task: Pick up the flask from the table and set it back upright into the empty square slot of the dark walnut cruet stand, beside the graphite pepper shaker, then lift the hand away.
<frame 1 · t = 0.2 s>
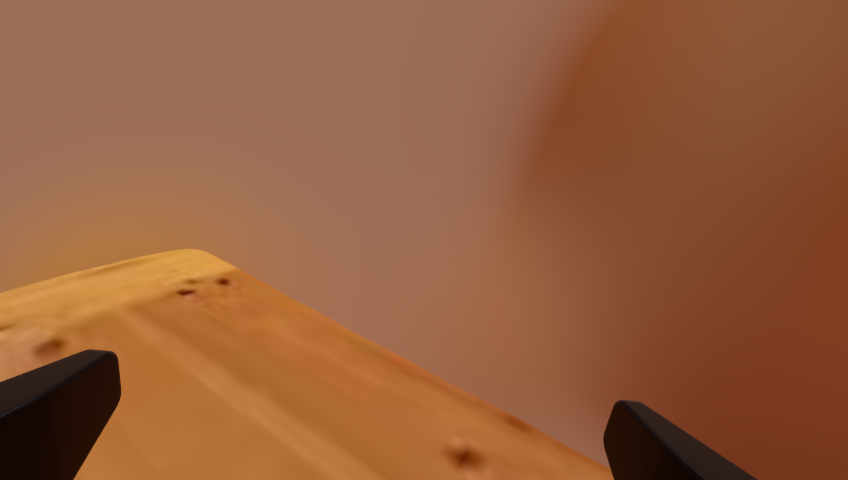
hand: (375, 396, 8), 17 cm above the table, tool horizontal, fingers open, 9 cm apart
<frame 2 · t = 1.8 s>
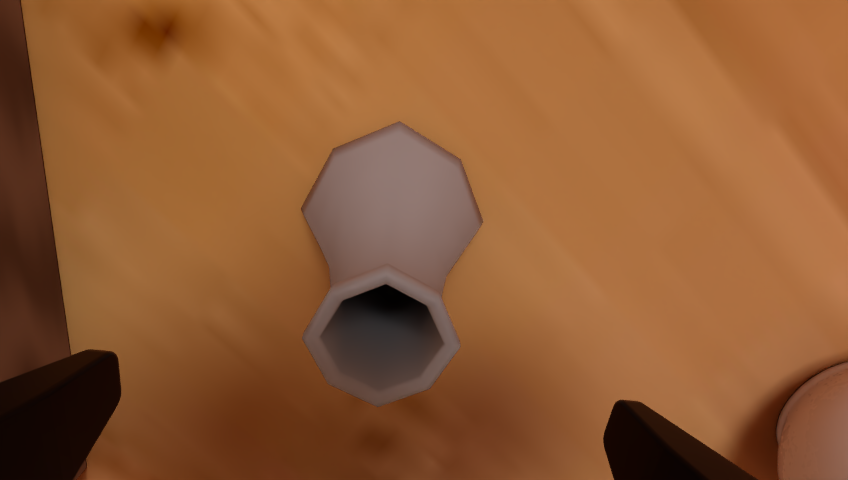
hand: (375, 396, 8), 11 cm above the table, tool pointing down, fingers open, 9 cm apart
lidded bowl: (839, 413, 24), on the table
flask: (393, 212, 19), on the table
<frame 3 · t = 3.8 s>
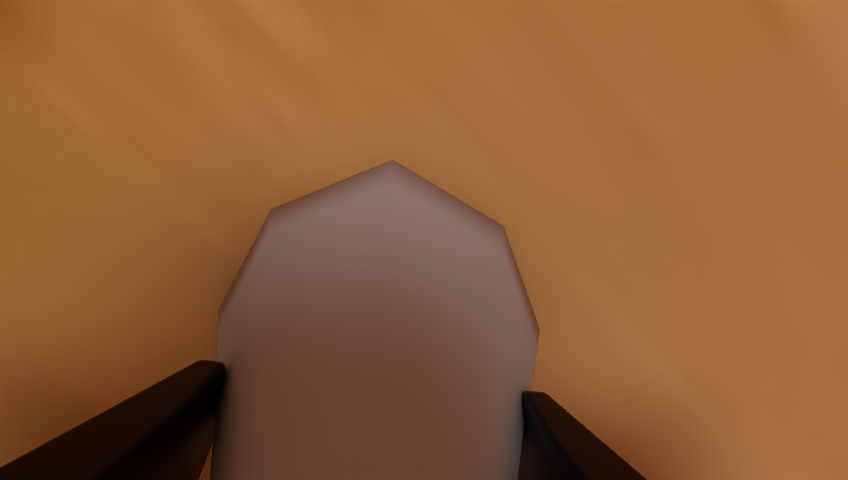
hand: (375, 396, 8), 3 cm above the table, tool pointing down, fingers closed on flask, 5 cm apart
flask: (383, 310, 11), on the table, touching gripper
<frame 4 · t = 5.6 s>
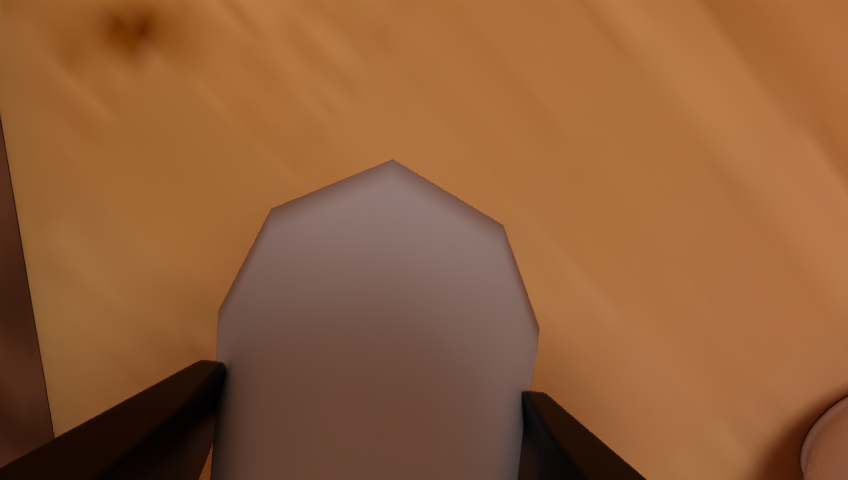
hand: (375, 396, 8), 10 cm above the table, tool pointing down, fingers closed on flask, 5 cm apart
flask: (383, 309, 11), point 7 cm above the table, touching gripper
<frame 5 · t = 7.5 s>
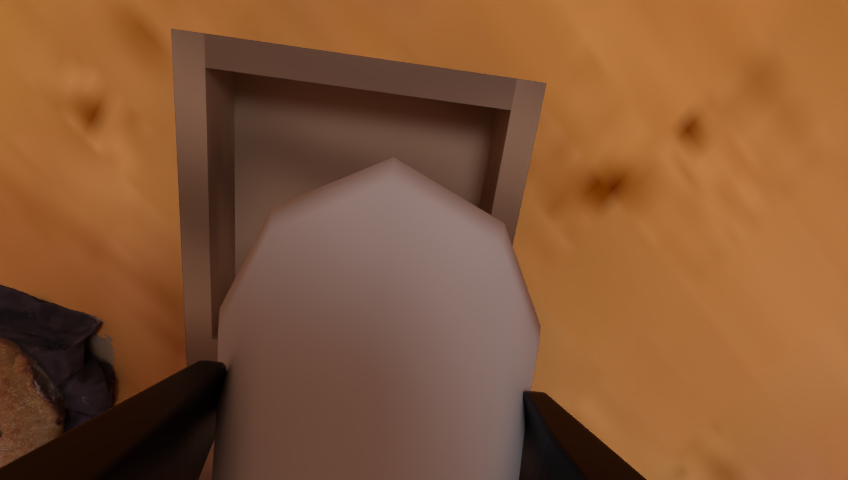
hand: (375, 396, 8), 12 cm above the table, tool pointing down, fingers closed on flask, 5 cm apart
flask: (384, 307, 11), point 9 cm above the table, touching gripper
cruet stand: (348, 336, 21), on the table
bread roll: (39, 379, 23), on the table
when the fingers open (5 cm above the table, at t = 10.5 s): flask stays where it is, resting on cruet stand.
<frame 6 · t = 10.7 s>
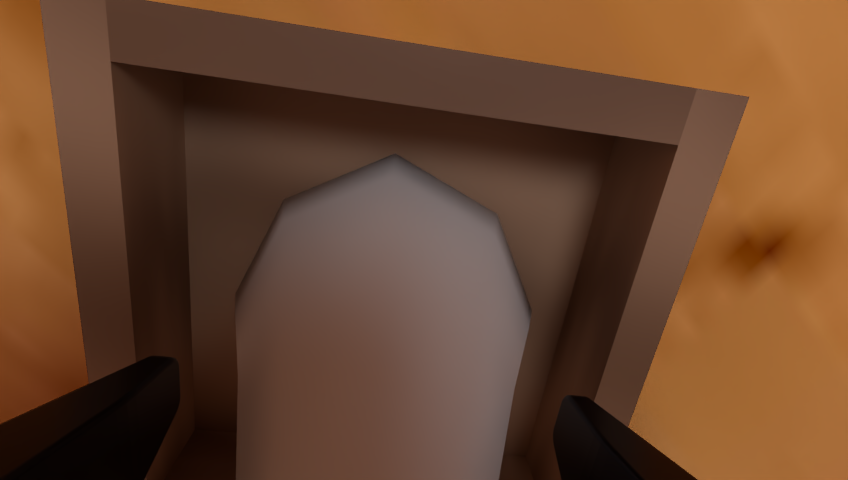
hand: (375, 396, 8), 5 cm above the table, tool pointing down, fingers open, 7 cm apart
flask: (387, 293, 12), point 1 cm above the table, touching cruet stand
cruet stand: (363, 455, 15), on the table
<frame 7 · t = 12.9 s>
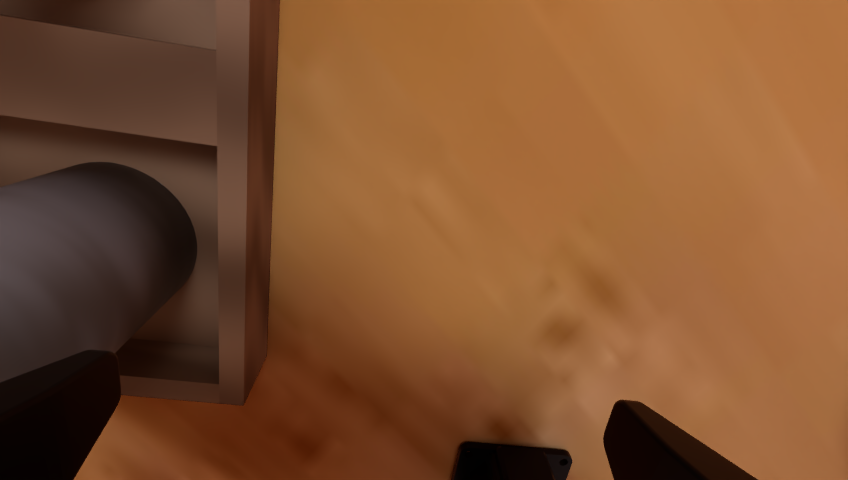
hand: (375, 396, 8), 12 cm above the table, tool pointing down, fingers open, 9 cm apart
cruet stand: (119, 74, 17), on the table
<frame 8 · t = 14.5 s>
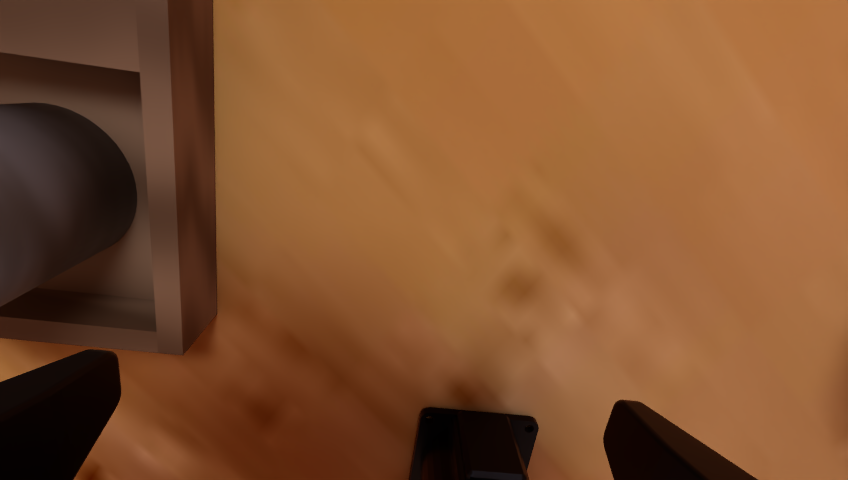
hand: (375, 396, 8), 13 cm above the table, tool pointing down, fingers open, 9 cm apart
cruet stand: (54, 14, 17), on the table
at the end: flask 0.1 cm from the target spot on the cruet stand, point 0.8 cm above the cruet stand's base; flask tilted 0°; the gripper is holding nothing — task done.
